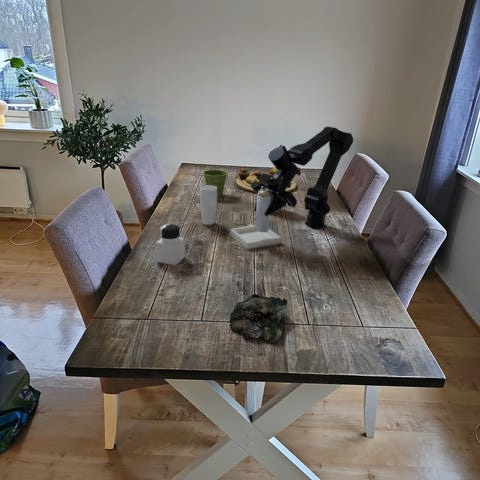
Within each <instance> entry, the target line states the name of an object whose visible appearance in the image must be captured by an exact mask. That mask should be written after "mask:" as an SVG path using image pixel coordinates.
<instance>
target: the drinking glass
mask: <svg viewBox="0 0 480 480" xmlns="http://www.w3.org/2000/svg"><path fill="white" fill-rule="evenodd" d="M199 202H200V204H199V205H200V212H201V213H200V214H201V224H203V225H204V226H212V225H214V224H215V223H216V211H217V203H218V197H217V187H216V186H212V185H206V184H205V185H201V186H200V187H199Z"/></svg>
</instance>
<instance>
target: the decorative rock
mask: <svg viewBox="0 0 480 480" xmlns="http://www.w3.org/2000/svg"><path fill="white" fill-rule="evenodd" d="M287 306H288V300H287V299H286V298H282V299H281V298H280V297H277V296H276V297H275V296H270V297H269V296H264V295H258V293H254V294H252V295H251V296H249V297H248V298H246V299H245V300H244V301H239V302H236V305H235V307H234V309H233V310H232V311H231V313H230V317H229V324H228V325H229V326H230V327H229V328H230V330H232V331H240V333H241V335H242V336H244V337H248V338H249V337H250V338H255V339H256V338H257V339H258V338H260V337H263V339H265V340H266V342H271V343H275V342H279V341H280V340H281V338H282V337H283V330H284V326H285V324H286V320H287V319H286V318H285V317H284V315H285V313H286V309H287V308H288V307H287ZM265 320H268V322H266V321H265Z"/></svg>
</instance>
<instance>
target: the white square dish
mask: <svg viewBox="0 0 480 480" xmlns="http://www.w3.org/2000/svg"><path fill="white" fill-rule="evenodd" d="M255 227H256V224H253V225H247V226H241V227H235V228H234V227H233V228H230V229H229V236H230V237H231V238H233V239H234V240H235V241H236V242H237V243H238V244H239V245H241V247H243V248H244V249H246V251H247V250H254V249H257V248H258V249H259V248H264V247H268V246H275V245H280V244H282V243H281V242H282V237H281V236H280V235H279V234H277V233H276V232H274V231H273V230H271V229H270V228H269V231H267V232H258V231H256V230H255Z"/></svg>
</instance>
